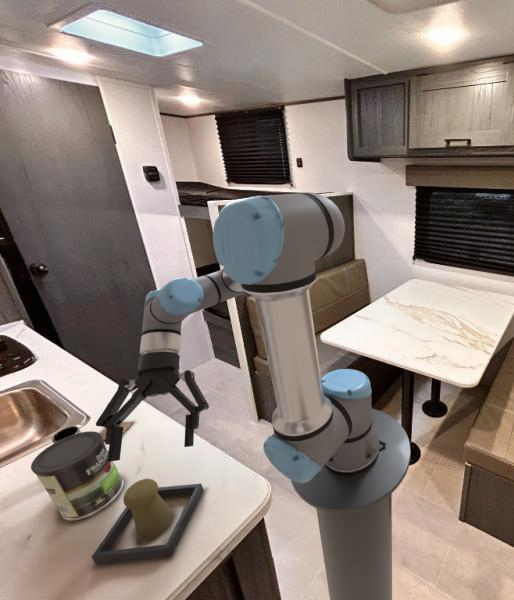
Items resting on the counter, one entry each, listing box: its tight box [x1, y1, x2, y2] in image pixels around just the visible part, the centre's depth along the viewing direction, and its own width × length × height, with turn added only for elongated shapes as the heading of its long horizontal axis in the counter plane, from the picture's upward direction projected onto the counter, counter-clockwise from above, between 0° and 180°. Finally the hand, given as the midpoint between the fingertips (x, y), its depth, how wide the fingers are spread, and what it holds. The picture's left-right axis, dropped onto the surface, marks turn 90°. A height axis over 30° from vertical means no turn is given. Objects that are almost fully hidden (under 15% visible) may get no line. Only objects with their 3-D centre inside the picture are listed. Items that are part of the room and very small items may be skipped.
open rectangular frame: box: [91, 483, 205, 566], centre depth 64 cm, size 13×13×2 cm
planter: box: [51, 425, 82, 444], centre depth 74 cm, size 4×4×10 cm
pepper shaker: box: [122, 478, 174, 541], centre depth 62 cm, size 6×6×11 cm
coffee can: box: [30, 430, 124, 521], centre depth 66 cm, size 10×10×14 cm
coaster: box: [100, 421, 134, 442], centre depth 86 cm, size 6×6×1 cm
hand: (152, 453), depth 66 cm, fingers open, 13 cm apart
